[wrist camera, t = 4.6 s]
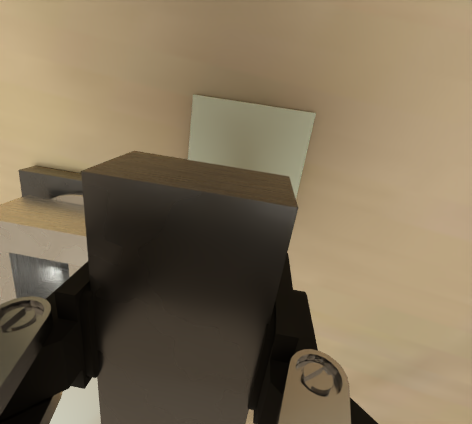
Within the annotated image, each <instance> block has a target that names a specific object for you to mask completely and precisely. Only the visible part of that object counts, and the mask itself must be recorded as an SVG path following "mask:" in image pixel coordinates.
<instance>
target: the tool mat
mask: <svg viewBox="0 0 472 424" xmlns="http://www.w3.org/2000/svg"><path fill="white" fill-rule="evenodd" d="M315 115H316V113H312V112H306V111H299V110H293V109H286V108H279V107H273V106H266V105H260V104H253V103H247V102H240V101H234V100H227V99H220V98H214V97H207V96H201V95H194V94H193V102H192V114H191V126H190V139H189V151H188V160H193V161H199V162H205V163H211V164H217V165H223V166H230V167H236V168H242V169H248V170H254V171H260V172H266V173H272V174H278V175H285V176H289V177H290V181H291V184H292V188H293V191H294V195H295V199H296V197H297V192H298V188H299V184H300V180H301V175H302V171H303V167H304V162H305V158H306V154H307V150H308V145H309V141H310V137H311V132H312V128H313V124H314V119H315Z"/></svg>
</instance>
